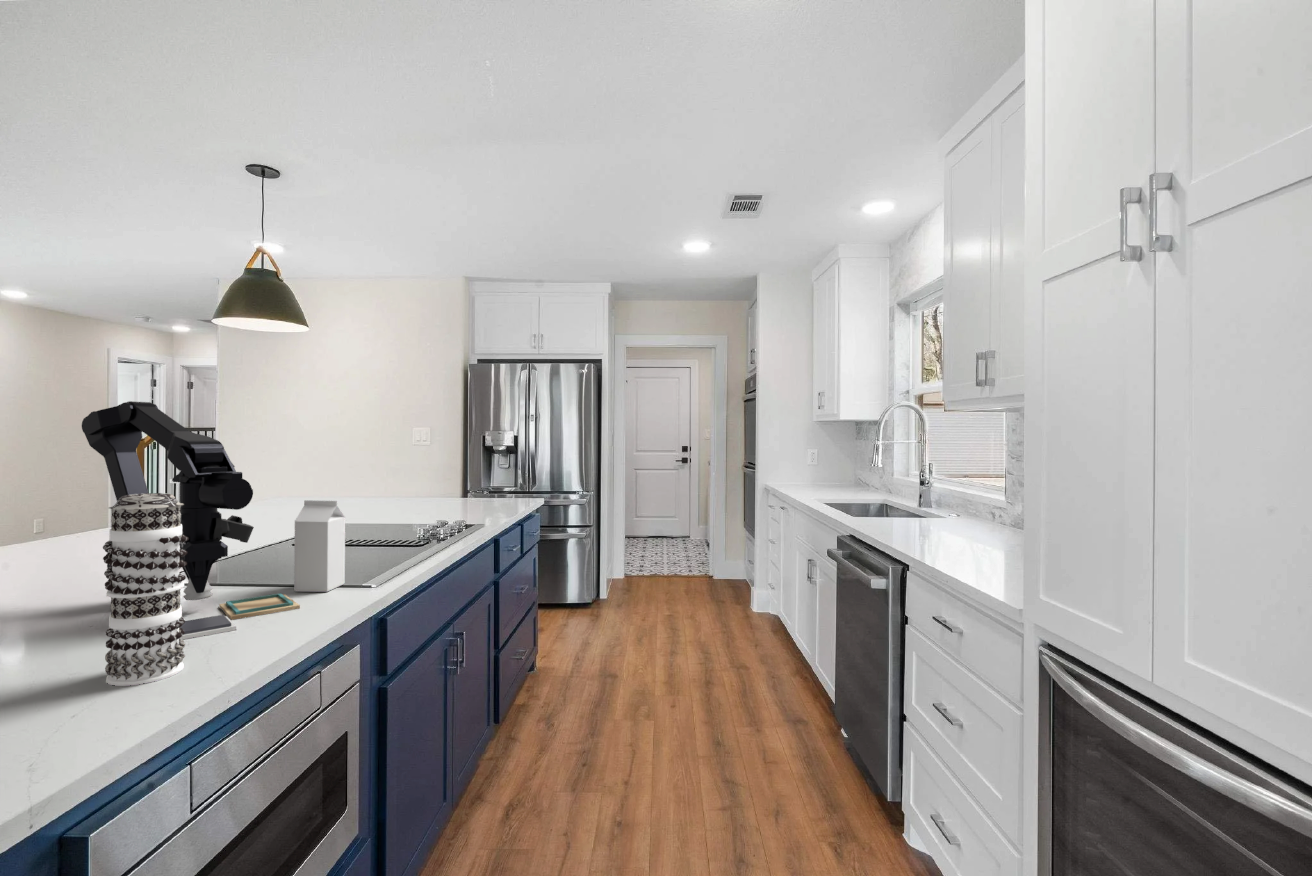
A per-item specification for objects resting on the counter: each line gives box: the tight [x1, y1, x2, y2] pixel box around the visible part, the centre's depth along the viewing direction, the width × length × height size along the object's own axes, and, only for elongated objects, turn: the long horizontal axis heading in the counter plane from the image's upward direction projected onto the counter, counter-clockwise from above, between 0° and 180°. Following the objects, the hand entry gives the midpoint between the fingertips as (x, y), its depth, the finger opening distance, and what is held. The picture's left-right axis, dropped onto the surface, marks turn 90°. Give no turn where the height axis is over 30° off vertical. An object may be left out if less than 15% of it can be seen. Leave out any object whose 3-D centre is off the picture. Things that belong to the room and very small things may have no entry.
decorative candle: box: [102, 492, 189, 687], centre depth 86 cm, size 9×9×25 cm
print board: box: [218, 592, 301, 621], centre depth 118 cm, size 11×11×1 cm
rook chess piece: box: [182, 578, 213, 601], centre depth 115 cm, size 4×4×8 cm
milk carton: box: [293, 500, 346, 593], centre depth 133 cm, size 7×7×19 cm
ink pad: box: [180, 614, 237, 641], centre depth 105 cm, size 8×8×1 cm
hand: (198, 590), depth 115 cm, fingers closed on rook chess piece, 4 cm apart
